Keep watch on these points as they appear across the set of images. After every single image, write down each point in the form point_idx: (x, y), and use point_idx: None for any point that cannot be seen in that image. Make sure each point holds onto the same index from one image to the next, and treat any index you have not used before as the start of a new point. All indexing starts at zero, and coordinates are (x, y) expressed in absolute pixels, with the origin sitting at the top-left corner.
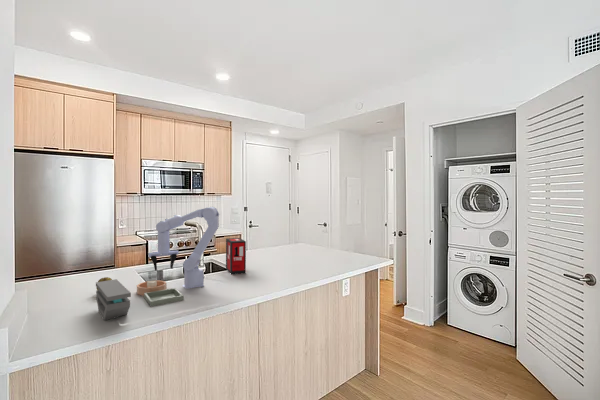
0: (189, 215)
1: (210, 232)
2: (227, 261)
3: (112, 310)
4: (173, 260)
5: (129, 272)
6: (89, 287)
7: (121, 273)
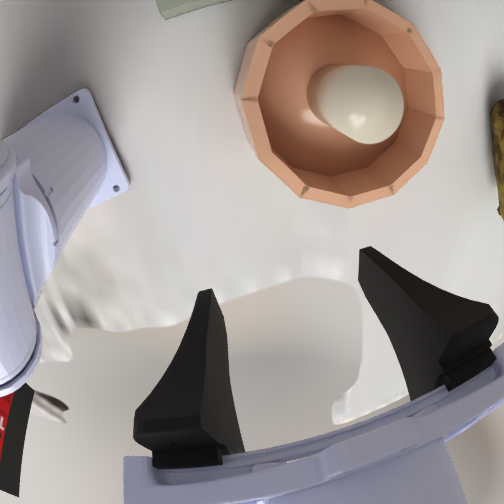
0: None
1: None
2: (10, 406)
3: None
4: (183, 367)
5: (365, 393)
6: (491, 270)
7: (386, 385)
